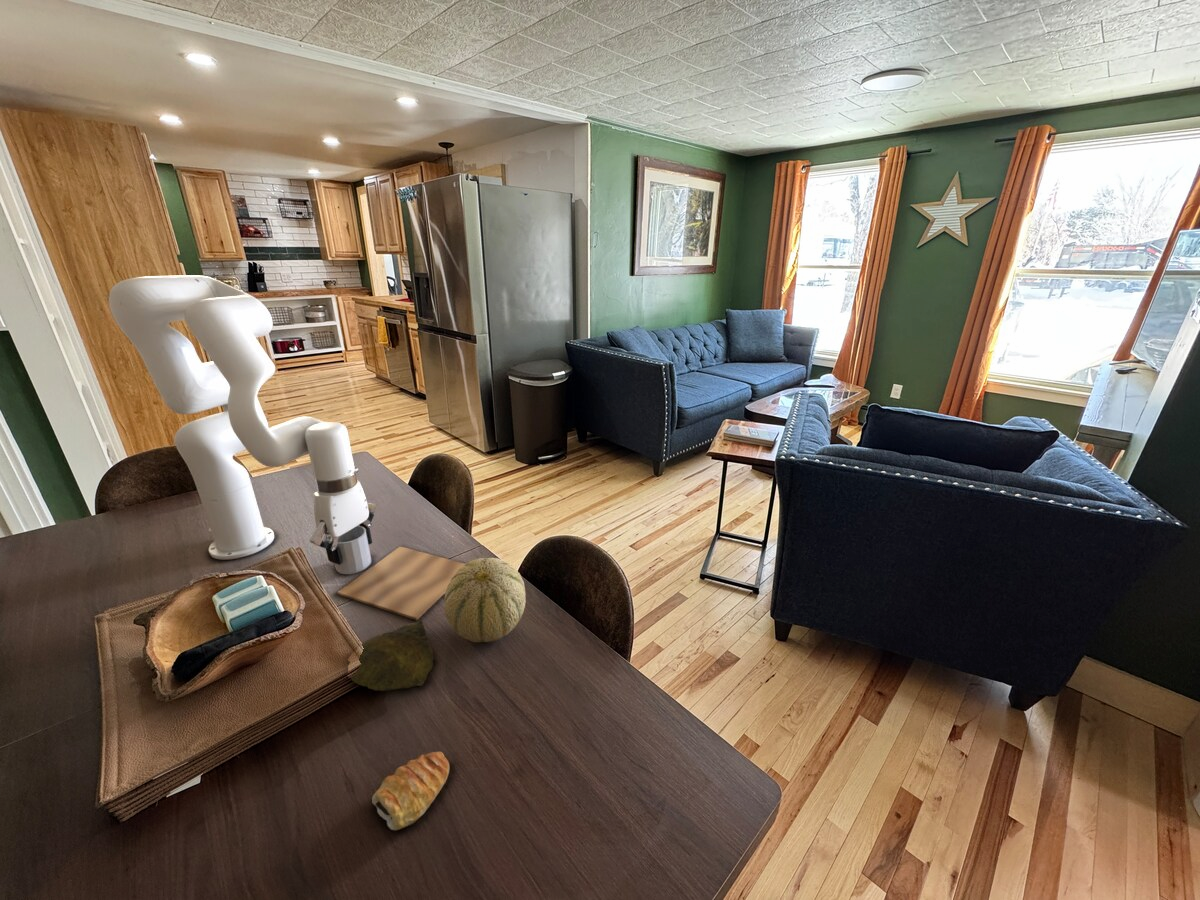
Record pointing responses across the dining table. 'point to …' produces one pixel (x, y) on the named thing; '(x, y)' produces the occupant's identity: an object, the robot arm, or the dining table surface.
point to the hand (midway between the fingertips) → (351, 551)
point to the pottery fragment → (395, 659)
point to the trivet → (403, 582)
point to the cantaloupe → (485, 600)
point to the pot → (353, 551)
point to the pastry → (411, 790)
